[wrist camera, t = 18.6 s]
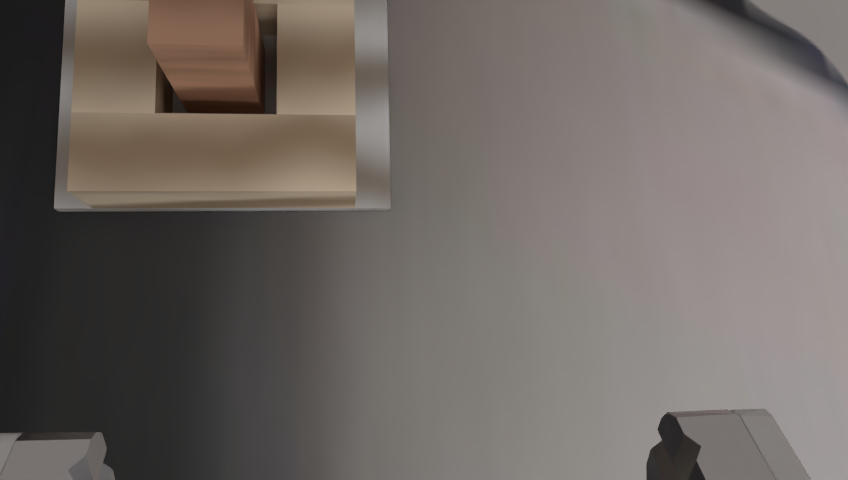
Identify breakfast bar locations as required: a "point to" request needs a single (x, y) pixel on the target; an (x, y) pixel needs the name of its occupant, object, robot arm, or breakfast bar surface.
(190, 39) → the peg
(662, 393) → the breakfast bar surface
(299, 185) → the grey open box frame
